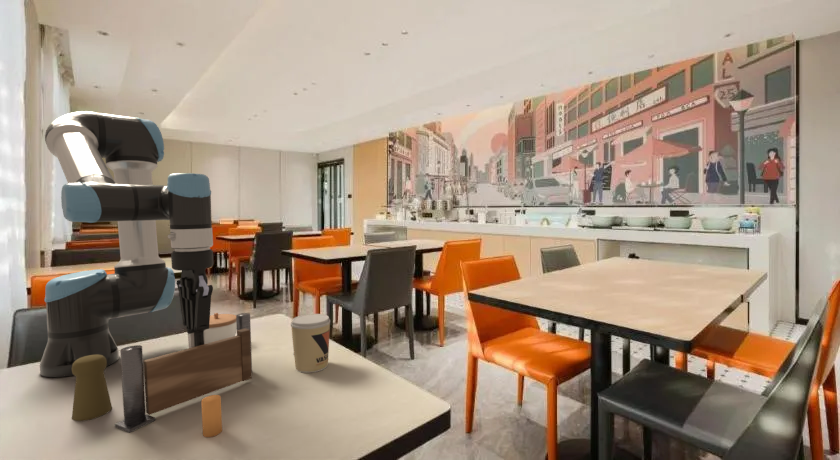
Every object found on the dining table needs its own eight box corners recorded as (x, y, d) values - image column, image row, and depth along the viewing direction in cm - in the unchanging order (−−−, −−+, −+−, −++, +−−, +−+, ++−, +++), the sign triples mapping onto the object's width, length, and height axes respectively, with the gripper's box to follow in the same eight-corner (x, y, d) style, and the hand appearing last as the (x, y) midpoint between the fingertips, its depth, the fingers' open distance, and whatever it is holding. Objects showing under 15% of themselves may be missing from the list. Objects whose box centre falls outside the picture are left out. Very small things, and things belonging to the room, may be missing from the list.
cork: (67, 424, 73) (63, 365, 73) (77, 409, 79) (73, 354, 78) (108, 415, 76) (105, 359, 75) (115, 402, 81) (112, 349, 81)
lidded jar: (212, 338, 121) (211, 307, 120) (245, 340, 119) (244, 308, 119) (187, 351, 110) (185, 317, 109) (223, 353, 108) (221, 319, 108)
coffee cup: (321, 375, 93) (319, 324, 93) (284, 372, 95) (283, 322, 94) (337, 360, 102) (336, 314, 102) (303, 358, 104) (302, 312, 104)
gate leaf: (145, 412, 75) (142, 354, 75) (247, 376, 91) (245, 328, 90) (149, 415, 74) (146, 357, 73) (251, 378, 90) (250, 329, 89)
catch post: (198, 434, 69) (197, 401, 69) (214, 426, 72) (212, 393, 72) (210, 438, 68) (209, 404, 68) (225, 429, 71) (224, 396, 70)
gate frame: (114, 427, 72) (110, 350, 71) (243, 368, 98) (241, 312, 97) (129, 432, 70) (125, 354, 69) (257, 371, 96) (255, 314, 95)
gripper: (161, 248, 84) (166, 359, 85) (183, 253, 75) (189, 375, 77) (199, 245, 90) (204, 349, 91) (224, 249, 81) (229, 363, 83)
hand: (197, 361), depth 84 cm, fingers closed
